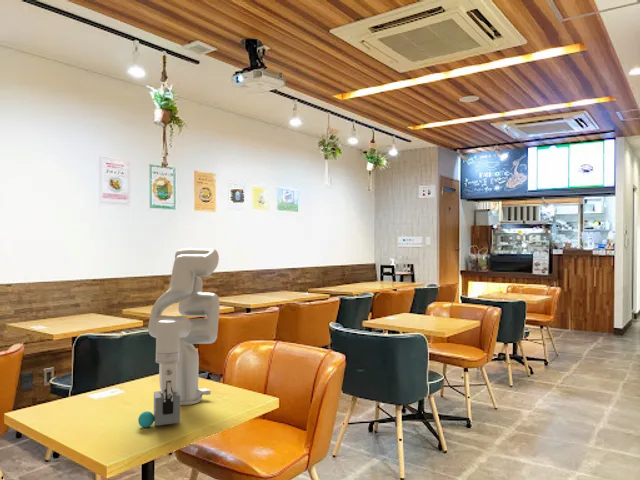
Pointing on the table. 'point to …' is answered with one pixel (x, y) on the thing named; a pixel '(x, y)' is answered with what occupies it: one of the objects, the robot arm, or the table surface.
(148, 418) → the ball
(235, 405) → the table surface
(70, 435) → the table surface
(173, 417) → the grey tapered block
